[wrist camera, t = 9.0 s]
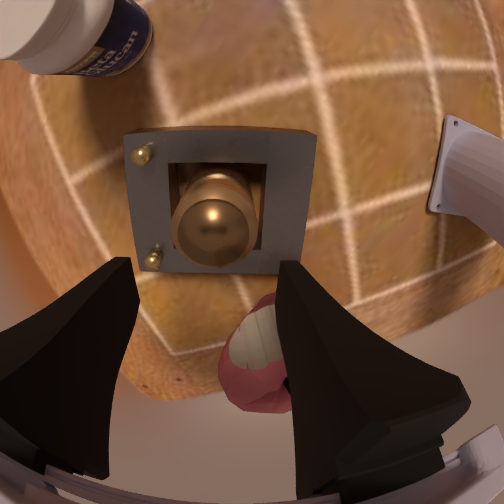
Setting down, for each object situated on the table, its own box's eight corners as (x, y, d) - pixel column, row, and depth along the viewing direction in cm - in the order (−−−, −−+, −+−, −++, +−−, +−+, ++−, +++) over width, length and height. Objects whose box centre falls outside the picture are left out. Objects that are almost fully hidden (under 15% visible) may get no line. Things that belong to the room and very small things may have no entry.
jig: (306, 130, 16) (322, 138, 13) (291, 254, 20) (300, 283, 17) (137, 129, 15) (115, 137, 12) (149, 252, 20) (135, 279, 17)
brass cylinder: (254, 164, 17) (264, 197, 11) (246, 221, 19) (251, 276, 13) (191, 158, 16) (169, 189, 11) (187, 216, 18) (169, 269, 13)
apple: (318, 249, 20) (365, 356, 12) (338, 322, 25) (371, 414, 16) (202, 290, 22) (188, 402, 13) (244, 352, 26) (248, 446, 18)
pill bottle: (115, 92, 14) (10, 102, 5) (68, 55, 12) (-37, 53, 3) (172, 28, 12) (105, -32, 4) (119, -6, 10) (36, -56, 1)
